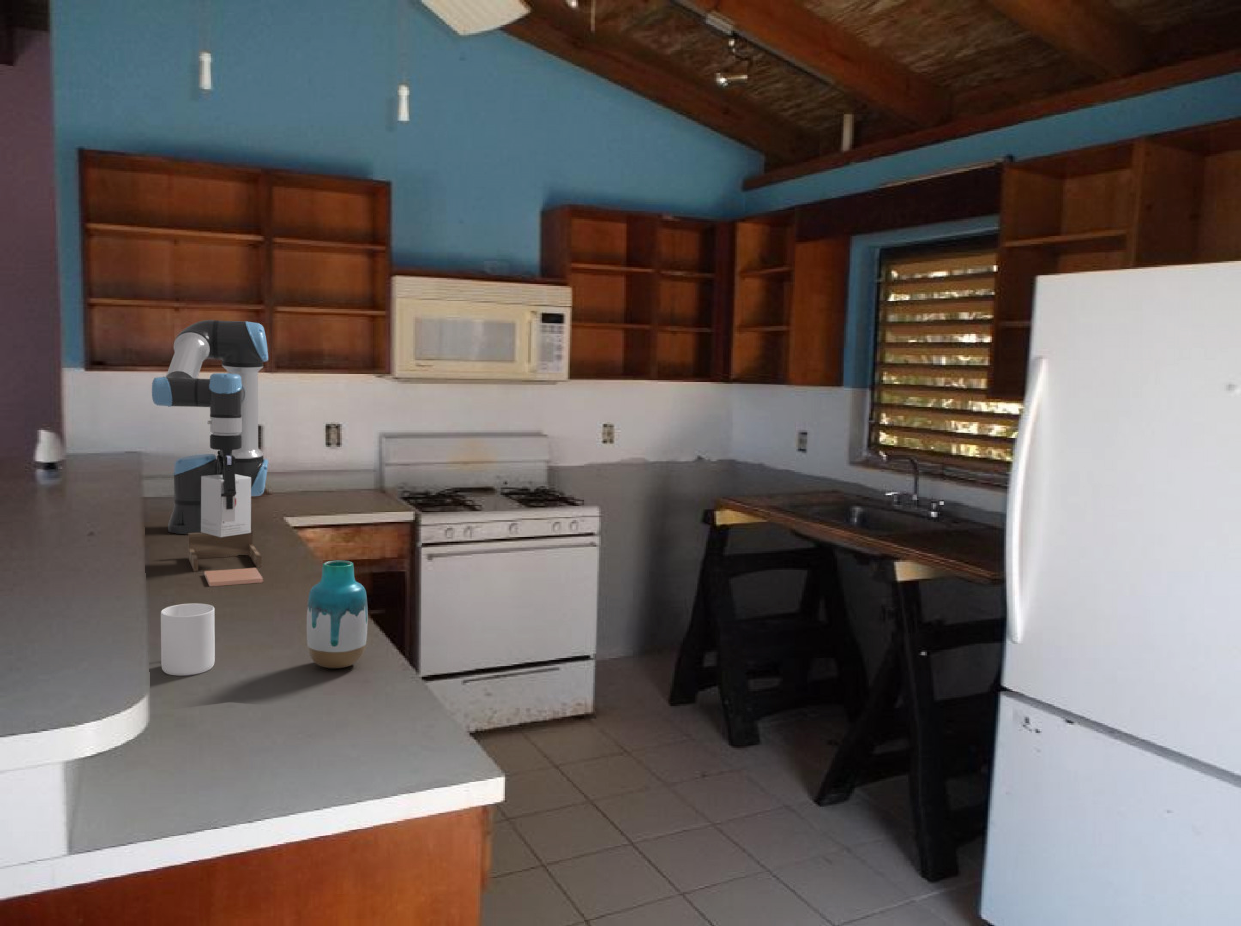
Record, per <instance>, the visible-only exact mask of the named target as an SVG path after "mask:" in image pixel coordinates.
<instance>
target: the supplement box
mask: <svg viewBox="0 0 1241 926" xmlns="http://www.w3.org/2000/svg"><path fill="white" fill-rule="evenodd" d="M235 486H236V495H235V521H233V522H223V497H221V493H224V480H223V475H208V476H201V532H203V533H207V534H210V535H214V536H218V537H226V536H233V535H240V534H247V533H251V530H252V529H251V527H252V526H251V525H252V496H251V477H247V476H242V475H237V474H235Z"/></svg>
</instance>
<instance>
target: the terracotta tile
mask: <svg viewBox="0 0 1241 926" xmlns="http://www.w3.org/2000/svg"><path fill="white" fill-rule="evenodd" d="M204 577H205V579H206V582H207V584H208V586H209V587H220V586H235V585H245V584H246V585H248V584H259V583H261V584H262V583H264V578H263V576H262V574H261V573H260V572H259V570H258V568H257V567H249V568H234V569H233V568H232V569H218V570H204Z"/></svg>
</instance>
